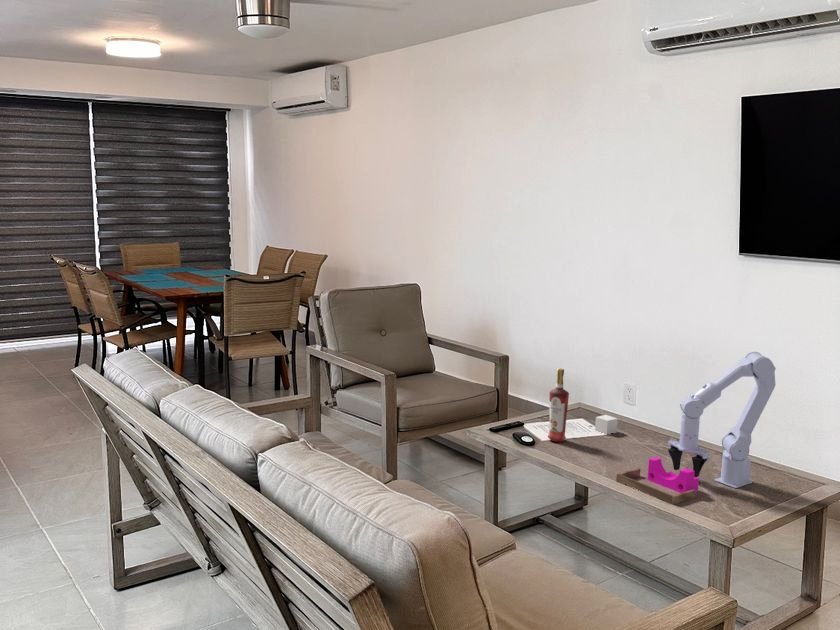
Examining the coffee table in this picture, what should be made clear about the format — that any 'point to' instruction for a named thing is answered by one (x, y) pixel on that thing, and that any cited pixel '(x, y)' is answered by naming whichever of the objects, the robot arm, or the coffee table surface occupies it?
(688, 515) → the coffee table surface
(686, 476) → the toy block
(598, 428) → the white cube
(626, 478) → the tray
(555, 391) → the liquor
